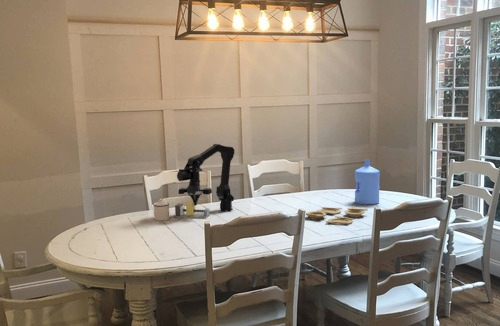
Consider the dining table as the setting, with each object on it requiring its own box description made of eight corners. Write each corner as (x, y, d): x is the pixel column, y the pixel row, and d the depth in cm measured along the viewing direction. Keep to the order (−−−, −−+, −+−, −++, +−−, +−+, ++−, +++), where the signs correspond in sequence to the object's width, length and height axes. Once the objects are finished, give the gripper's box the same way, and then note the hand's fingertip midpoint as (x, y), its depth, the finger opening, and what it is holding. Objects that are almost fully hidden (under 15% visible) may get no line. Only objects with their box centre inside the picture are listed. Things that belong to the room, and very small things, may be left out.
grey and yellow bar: (210, 215, 276) (209, 203, 275) (206, 218, 268) (205, 206, 268) (179, 214, 280) (179, 202, 279) (174, 217, 272) (174, 205, 271)
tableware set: (325, 209, 290) (325, 202, 289) (370, 214, 273) (370, 207, 272) (297, 220, 261) (297, 213, 261) (345, 227, 244) (345, 220, 244)
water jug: (382, 201, 307) (383, 159, 304) (374, 205, 294) (375, 161, 291) (359, 199, 316) (359, 158, 312) (351, 203, 303) (351, 160, 299)
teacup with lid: (172, 219, 269) (171, 199, 267) (158, 221, 263) (157, 201, 262) (163, 215, 278) (162, 196, 277) (149, 217, 273) (148, 198, 271)
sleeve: (195, 213, 276) (195, 202, 275) (192, 215, 272) (192, 203, 271) (189, 213, 277) (188, 202, 276) (186, 215, 272) (185, 203, 272)
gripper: (174, 181, 265) (175, 208, 267) (206, 181, 262) (207, 208, 263) (181, 178, 276) (182, 204, 278) (211, 178, 272) (212, 204, 274)
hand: (195, 205), depth 273 cm, fingers closed
